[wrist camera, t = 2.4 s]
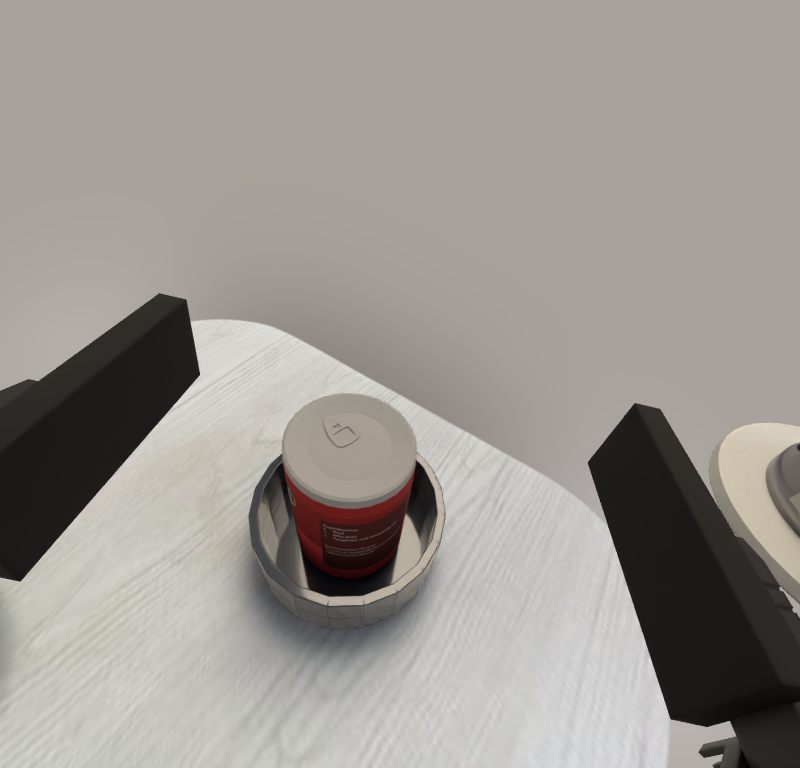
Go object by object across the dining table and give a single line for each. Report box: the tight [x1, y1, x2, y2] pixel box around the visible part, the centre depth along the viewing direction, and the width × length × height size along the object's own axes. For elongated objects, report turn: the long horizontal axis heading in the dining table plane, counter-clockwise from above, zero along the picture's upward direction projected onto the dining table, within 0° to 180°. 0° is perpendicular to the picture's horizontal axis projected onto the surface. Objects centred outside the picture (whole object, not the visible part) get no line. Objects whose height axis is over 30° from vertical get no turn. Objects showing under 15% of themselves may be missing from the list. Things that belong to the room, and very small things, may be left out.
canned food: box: [282, 393, 417, 579], centre depth 26 cm, size 8×8×11 cm
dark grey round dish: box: [249, 452, 445, 629], centre depth 28 cm, size 13×13×4 cm
